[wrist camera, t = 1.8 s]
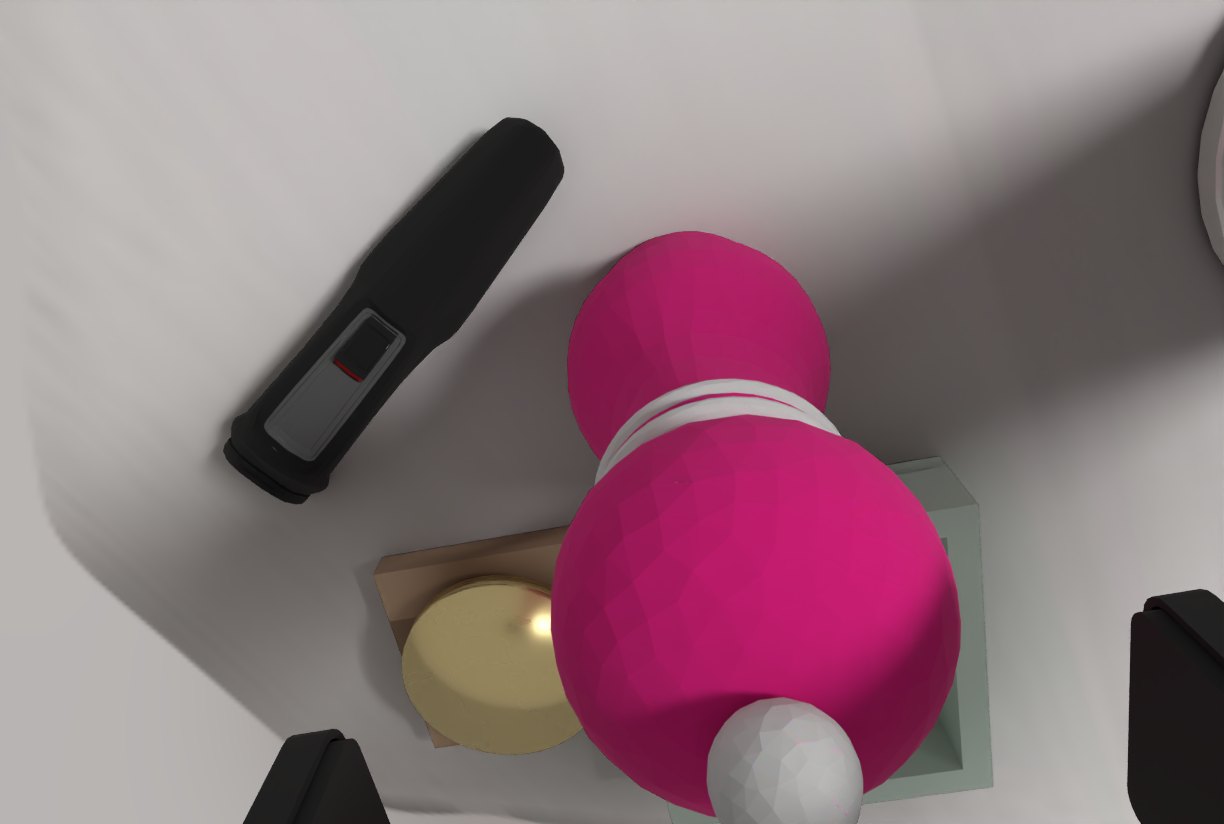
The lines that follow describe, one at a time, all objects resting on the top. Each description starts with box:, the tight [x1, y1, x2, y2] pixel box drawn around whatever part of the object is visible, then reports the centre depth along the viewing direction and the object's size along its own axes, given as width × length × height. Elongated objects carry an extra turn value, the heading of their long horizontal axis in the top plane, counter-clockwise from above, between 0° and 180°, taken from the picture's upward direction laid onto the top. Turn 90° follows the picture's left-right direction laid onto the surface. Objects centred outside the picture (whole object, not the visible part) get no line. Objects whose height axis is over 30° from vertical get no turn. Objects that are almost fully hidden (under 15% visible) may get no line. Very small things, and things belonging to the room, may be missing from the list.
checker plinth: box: [373, 526, 570, 748], centre depth 31 cm, size 8×8×1 cm
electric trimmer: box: [223, 117, 564, 504], centre depth 26 cm, size 4×16×3 cm, turn 138°
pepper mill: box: [550, 231, 961, 824], centre depth 18 cm, size 7×7×20 cm
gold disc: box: [402, 575, 583, 755], centre depth 30 cm, size 7×7×2 cm
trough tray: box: [667, 456, 993, 824], centre depth 30 cm, size 12×12×4 cm
